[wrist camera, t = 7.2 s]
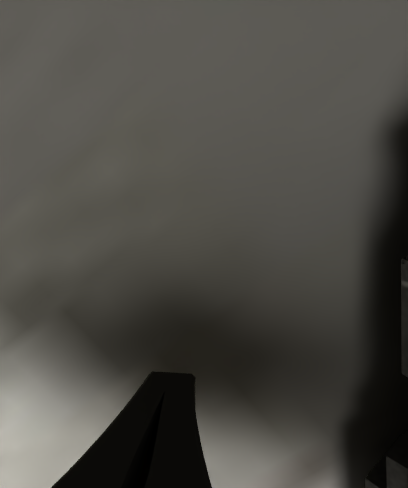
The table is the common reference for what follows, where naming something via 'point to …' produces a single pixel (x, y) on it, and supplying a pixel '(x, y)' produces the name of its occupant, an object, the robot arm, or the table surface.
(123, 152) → the table surface
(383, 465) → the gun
